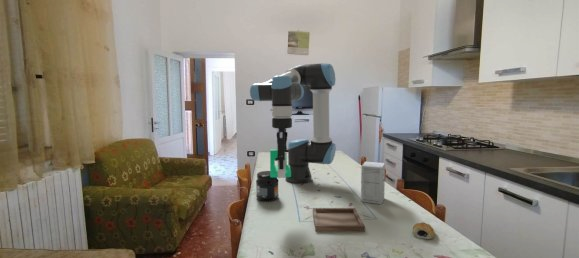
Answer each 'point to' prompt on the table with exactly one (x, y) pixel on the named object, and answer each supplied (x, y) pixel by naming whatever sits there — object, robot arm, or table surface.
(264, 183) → the supplement container
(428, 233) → the pastry
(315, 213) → the tray
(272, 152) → the camera mount
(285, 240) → the table surface
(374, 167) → the supplement box
